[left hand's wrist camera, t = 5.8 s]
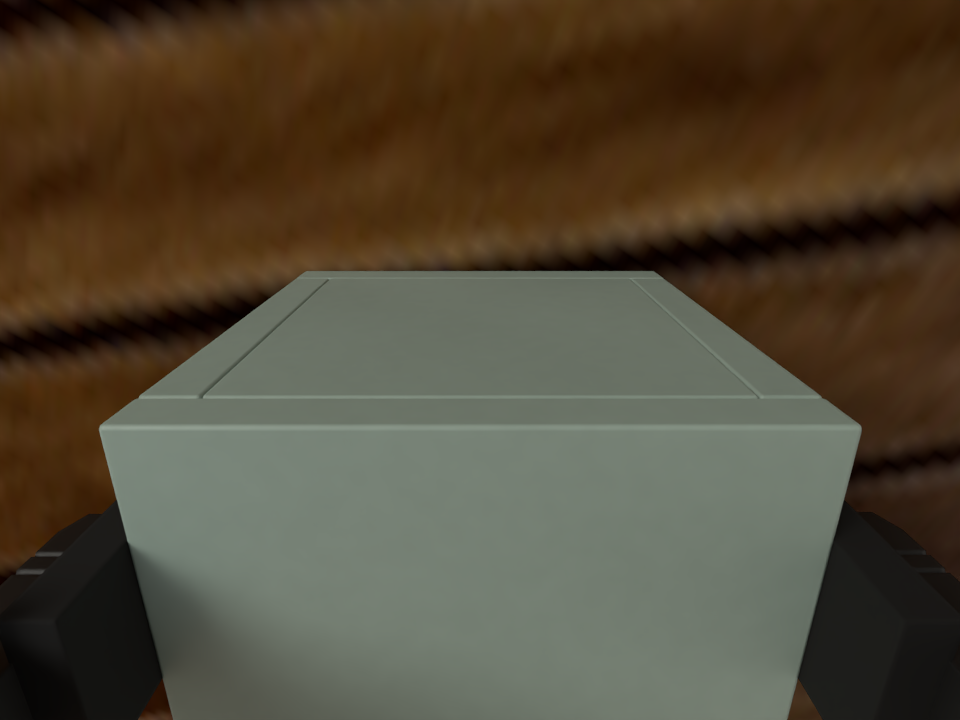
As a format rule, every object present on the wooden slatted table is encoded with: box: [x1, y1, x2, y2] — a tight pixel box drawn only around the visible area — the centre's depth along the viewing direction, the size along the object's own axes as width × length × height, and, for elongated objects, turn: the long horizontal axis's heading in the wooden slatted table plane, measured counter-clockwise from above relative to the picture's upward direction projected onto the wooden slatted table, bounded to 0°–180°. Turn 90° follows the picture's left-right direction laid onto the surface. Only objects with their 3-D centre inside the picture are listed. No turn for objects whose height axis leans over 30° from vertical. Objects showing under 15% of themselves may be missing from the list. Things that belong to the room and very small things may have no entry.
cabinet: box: [99, 271, 862, 720], centre depth 16 cm, size 17×10×10 cm, turn 0°
